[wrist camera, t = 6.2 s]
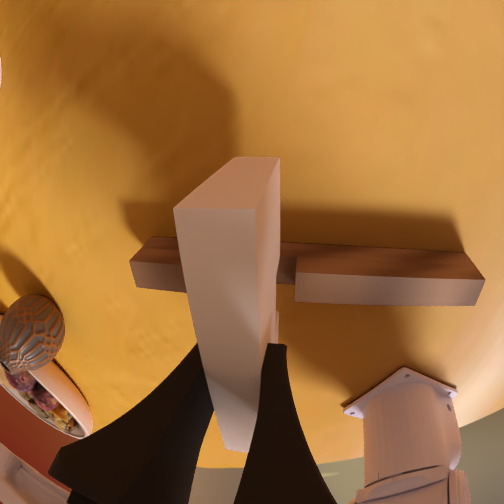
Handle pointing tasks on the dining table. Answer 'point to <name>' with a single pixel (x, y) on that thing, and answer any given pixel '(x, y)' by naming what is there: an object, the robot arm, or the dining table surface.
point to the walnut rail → (339, 274)
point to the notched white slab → (233, 284)
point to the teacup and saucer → (0, 71)
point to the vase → (30, 334)
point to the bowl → (51, 398)
